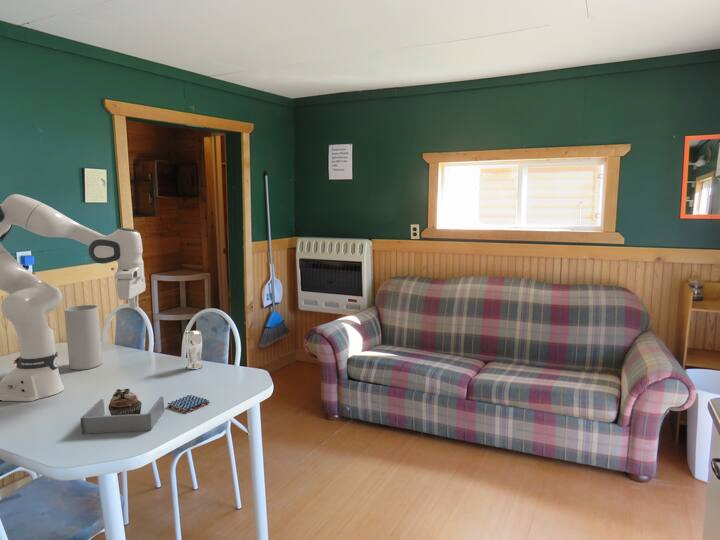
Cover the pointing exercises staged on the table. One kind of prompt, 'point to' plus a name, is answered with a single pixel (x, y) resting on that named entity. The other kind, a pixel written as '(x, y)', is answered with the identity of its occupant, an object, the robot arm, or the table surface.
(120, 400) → the cupcake
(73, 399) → the table surface
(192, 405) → the woven mat
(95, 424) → the box
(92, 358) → the cylinder vase
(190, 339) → the beer glass
